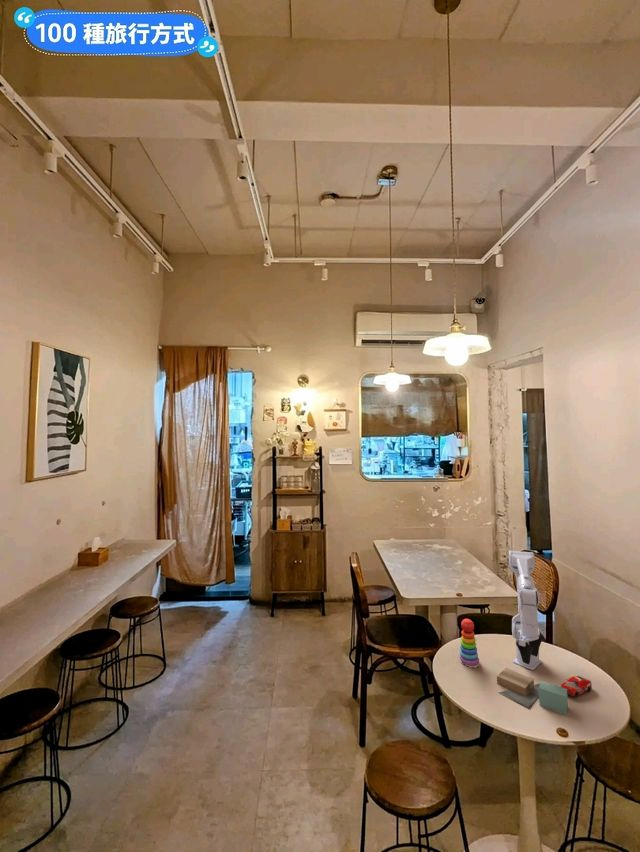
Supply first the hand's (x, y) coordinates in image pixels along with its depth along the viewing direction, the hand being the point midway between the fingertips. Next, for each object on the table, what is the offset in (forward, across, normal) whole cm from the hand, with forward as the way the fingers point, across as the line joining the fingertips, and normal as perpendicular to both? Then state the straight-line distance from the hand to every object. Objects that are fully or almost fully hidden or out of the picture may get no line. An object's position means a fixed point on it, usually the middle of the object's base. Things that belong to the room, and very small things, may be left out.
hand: (530, 659), depth 147 cm
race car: (+12, -6, +12) cm, 18 cm away
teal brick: (+11, +5, +9) cm, 15 cm away
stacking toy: (+11, +3, -23) cm, 25 cm away
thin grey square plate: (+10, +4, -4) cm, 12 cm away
